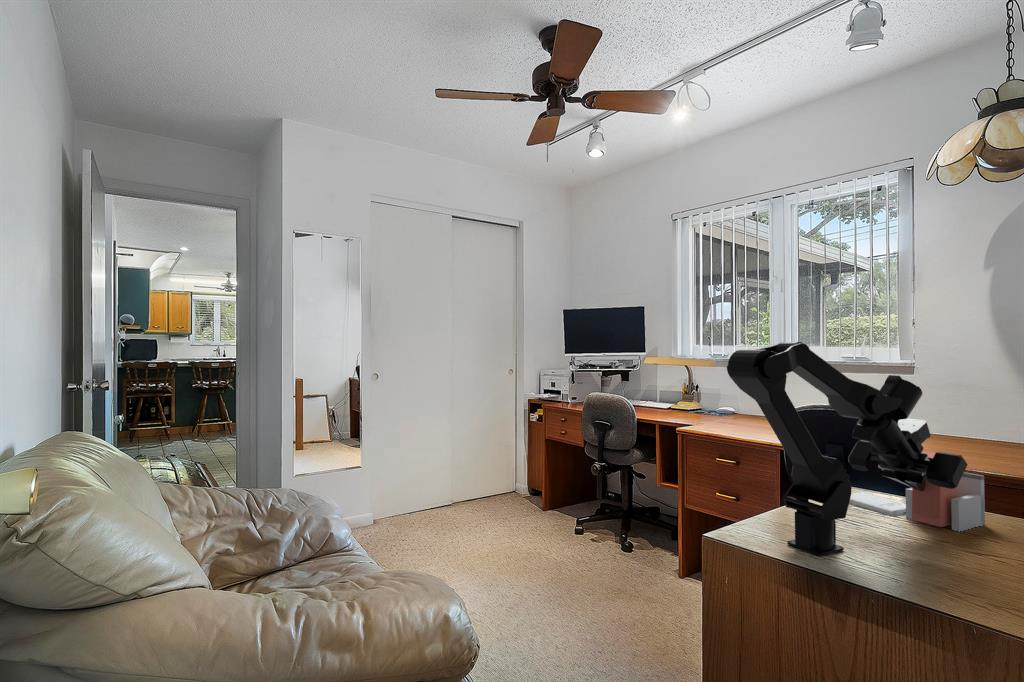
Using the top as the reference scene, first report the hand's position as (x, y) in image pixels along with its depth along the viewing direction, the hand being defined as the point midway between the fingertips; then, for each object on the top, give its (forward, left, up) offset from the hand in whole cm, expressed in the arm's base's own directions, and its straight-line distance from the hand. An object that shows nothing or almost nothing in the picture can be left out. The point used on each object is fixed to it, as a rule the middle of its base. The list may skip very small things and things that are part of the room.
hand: (922, 489), depth 106 cm
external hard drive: (+7, +13, -8) cm, 16 cm away
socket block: (+7, 0, -7) cm, 10 cm away
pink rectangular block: (+4, 0, -7) cm, 8 cm away
